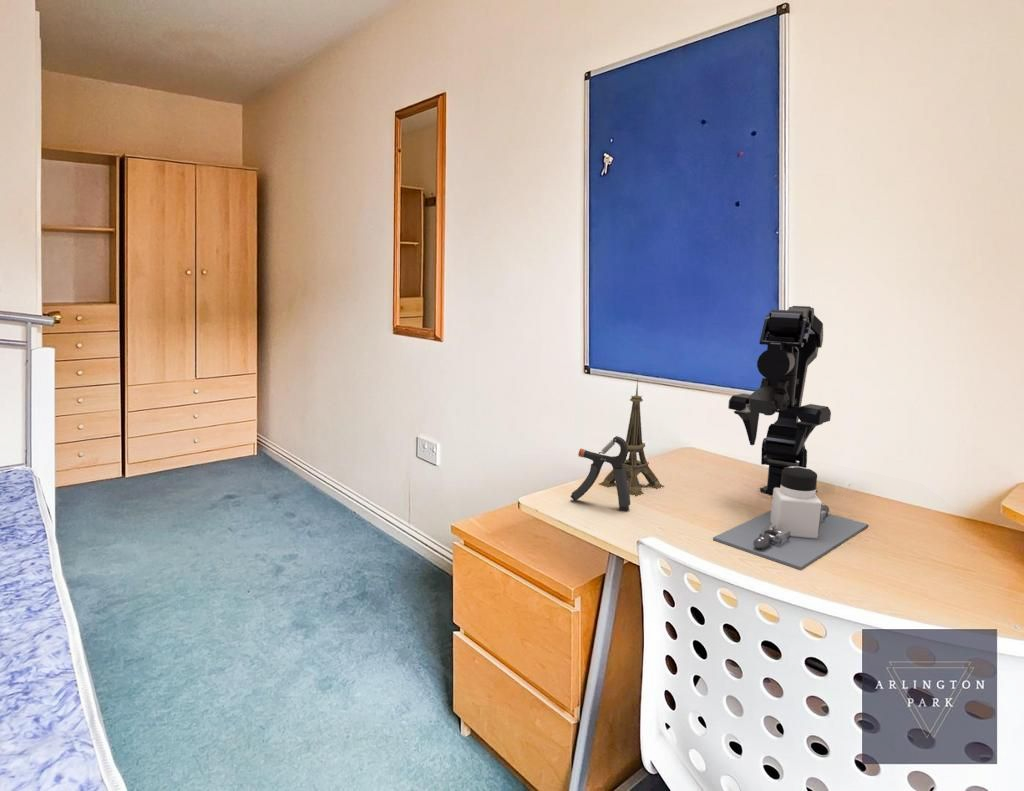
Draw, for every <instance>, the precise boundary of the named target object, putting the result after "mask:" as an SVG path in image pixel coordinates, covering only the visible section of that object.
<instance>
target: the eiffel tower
mask: <svg viewBox="0 0 1024 791" xmlns="http://www.w3.org/2000/svg"><path fill="white" fill-rule="evenodd" d="M636 380H637V381H636V382H637V383H636V388H635V395H631V396H630V397H631V398H630V399H629V401H630V402H632V406H631V411H630V416H629V422H628V427H627V433H626V438H625V442H626V444H627V447H628V453H627V455H626V457H625V458H624V459H623V460H622V466H623V467H625V472H626V476H627V481H630V482H629V484H628V487H629V494H630V496H633V495H635V496H634V497H639V496H641V494H642V495H644V494H645V493H644V492H643V490H642V488H641V484H640V480H639V479H638V476H639V474H642V476H644V478H645V479H646V481H647V482H648V483H647V485H646V486H647V487H648V486H649V487H648V488H651V487H652V489H655V488H656V490H659V489H662V488H665V485H663V484H661V483H660V479H658V477H657V476H656V473H654V472H653V470H652V469H651V468H650V466H649V464H650V462H648V461H647V458H646V454H645V451H644V448H645V447H646V443H645V442H643V433H642V431H643V430H642V420H641V419H642V418H641V417H642V415H641V402H643V401H644V400H643V398H642V397H643V395H642V396H641V395H638V394H639V393H638V391H639V390H638V389H639V386H638V385H639V383H638V382H639V378H638V377H637V379H636ZM637 453H638V454H637ZM628 454H629V456H628ZM637 455H638V457H639V460H638V457H637ZM598 485H599V486H602V487H605V488H611V487H614V486H616V481H615V476H614V472H613V469H612V470H611V471H610V472H609V473H608V474H607V475H606V476H605V478H604V479H603V480H602V481H601V482H600V483H598ZM661 487H662V488H661ZM658 488H659V489H658ZM638 495H639V496H638Z"/></svg>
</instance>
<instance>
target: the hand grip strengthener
mask: <svg viewBox="0 0 1024 791" xmlns="http://www.w3.org/2000/svg"><path fill="white" fill-rule="evenodd" d="M615 443H616V444H617V445H618V446H619V450H620V451H619V453H618V455H614V456H609V455H605V454H607V452H608V451H610V449H612V447H613V446H614V445H615ZM627 453H628V454H629V452H628V447H627V444H626V439H624V438H622V437H620V436H617V435H616V436H615V437H612V439H611V440H610V441H609V442H608V443H607V444H606V445H605V446H604V447H603V448H602V449H601V451H599V452H598V453H596V452H593V451H589V450H587V449H584V448H580V449H579V450H578V453H577V454H578V457H579V458H583V459H589V460H590V461H592V463H591V464H590V468H589V472H588V475H587V476H586V478H585V479H584V480H583V482H582V483H581V484H580V485H579V487H578V488H577V489H575V490H574V491H572V492H571V495H570V498H571V499H572V501H574V502H576V501H577V500H579V499H580V498H582V497H583V496H585V494H586V493H587V492H588V491H589V490H590V489H591V487H592V486H593V485H594V483H595V482H596V480H597V478H598V477H599V474H600V472H601V470H602V467H603V465H604V463H608V464H610V465H611V466H612V470H613V472H614V476H615V483H616V485H615V486H616V491H617V492H616V493H617V500H618V509H619V511H625V512H626V511H629V509H630V505H631V495H630V494H629V482H628V480H627V476H626V472H625V467H623V466H622V460H623V459H624V458H625V457H626V455H627V456H628V454H627ZM626 458H627V457H626Z"/></svg>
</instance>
